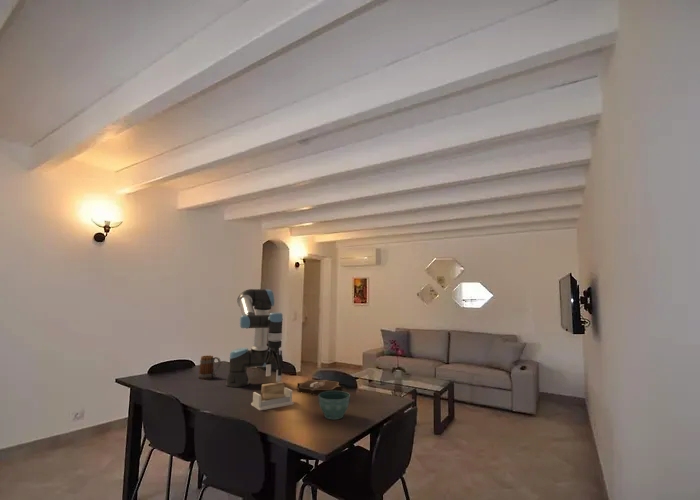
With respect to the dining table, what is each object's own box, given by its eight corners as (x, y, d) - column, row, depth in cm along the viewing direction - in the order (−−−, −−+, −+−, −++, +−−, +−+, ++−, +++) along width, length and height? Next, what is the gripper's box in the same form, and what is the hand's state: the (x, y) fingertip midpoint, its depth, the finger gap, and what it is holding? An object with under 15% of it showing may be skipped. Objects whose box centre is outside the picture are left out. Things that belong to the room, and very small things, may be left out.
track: (251, 404, 207) (251, 391, 208) (283, 399, 219) (284, 386, 219) (259, 410, 197) (260, 396, 198) (293, 404, 209) (293, 391, 210)
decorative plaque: (304, 378, 261) (346, 380, 255) (304, 382, 261) (346, 385, 255) (289, 388, 232) (336, 392, 226) (289, 393, 232) (335, 397, 226)
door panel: (260, 403, 206) (261, 384, 207) (280, 399, 213) (281, 381, 214) (263, 405, 203) (264, 386, 204) (283, 401, 210) (284, 383, 211)
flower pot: (324, 424, 179) (324, 400, 180) (313, 413, 193) (314, 392, 195) (354, 420, 185) (355, 397, 186) (342, 410, 200) (342, 389, 201)
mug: (195, 378, 266) (196, 357, 268) (203, 375, 276) (204, 354, 278) (215, 380, 263) (216, 358, 265) (222, 376, 274) (224, 355, 275)
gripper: (259, 337, 220) (258, 374, 218) (278, 343, 200) (276, 384, 198) (271, 337, 224) (270, 373, 222) (291, 342, 204) (289, 382, 202)
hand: (273, 378), depth 210 cm, fingers open, 13 cm apart
